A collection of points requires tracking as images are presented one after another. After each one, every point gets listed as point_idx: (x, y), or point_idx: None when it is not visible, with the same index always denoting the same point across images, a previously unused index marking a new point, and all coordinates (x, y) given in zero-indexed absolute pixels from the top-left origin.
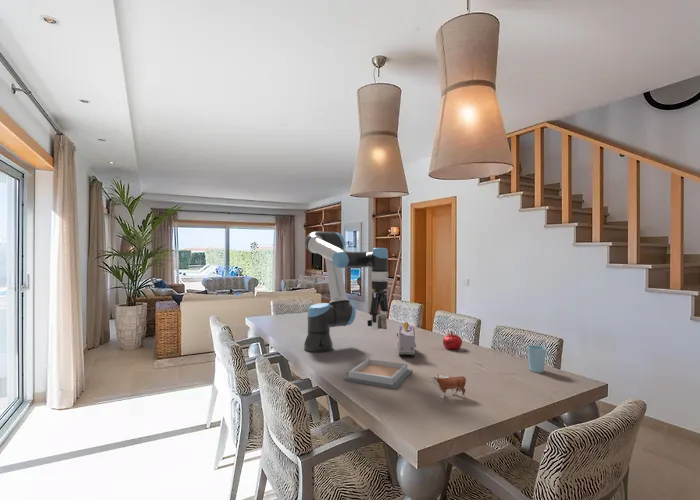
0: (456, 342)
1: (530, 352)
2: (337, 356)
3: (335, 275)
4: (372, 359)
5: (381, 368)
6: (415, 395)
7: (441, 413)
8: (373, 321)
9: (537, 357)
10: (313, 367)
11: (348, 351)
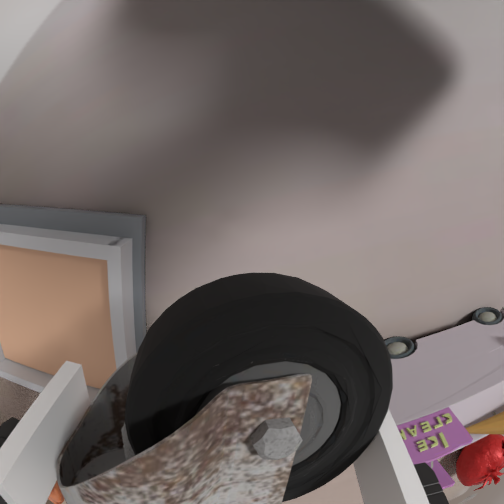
0: (459, 479)
1: None
2: (256, 17)
3: None
4: (116, 276)
5: (92, 318)
6: (7, 403)
7: None
8: (6, 432)
9: None
10: (48, 17)
11: (384, 51)
